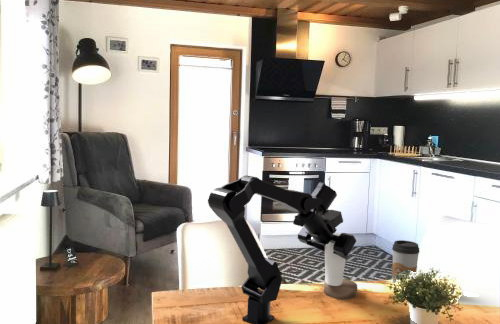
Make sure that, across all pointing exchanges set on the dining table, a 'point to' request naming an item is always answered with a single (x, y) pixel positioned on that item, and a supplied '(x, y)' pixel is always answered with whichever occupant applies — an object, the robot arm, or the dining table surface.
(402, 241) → the coffee cup
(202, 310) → the dining table surface
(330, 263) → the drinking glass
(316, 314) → the dining table surface
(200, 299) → the dining table surface
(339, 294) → the walnut stand
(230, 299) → the dining table surface
